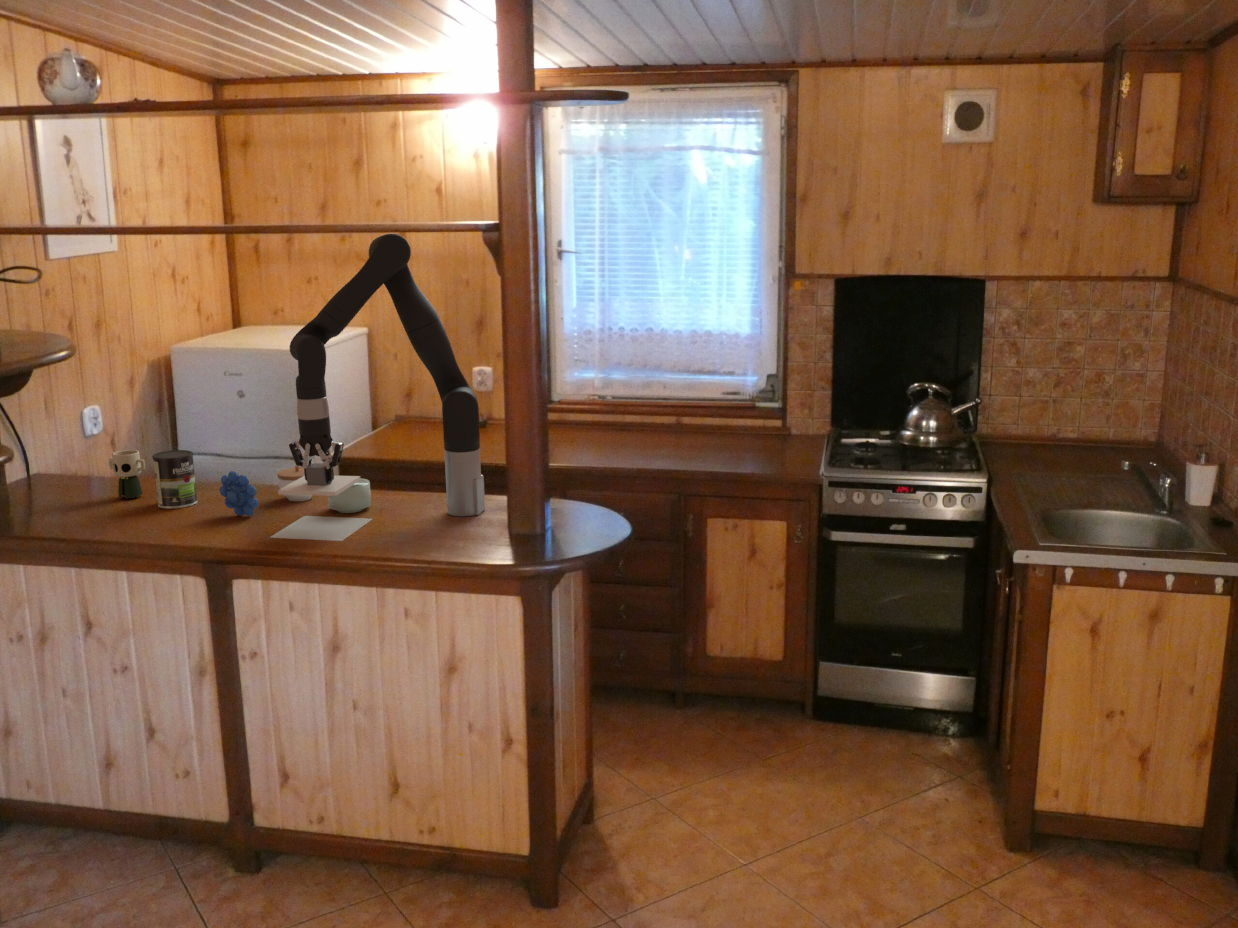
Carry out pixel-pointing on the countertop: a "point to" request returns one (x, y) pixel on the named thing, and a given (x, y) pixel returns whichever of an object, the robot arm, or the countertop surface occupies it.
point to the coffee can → (175, 479)
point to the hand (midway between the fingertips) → (319, 482)
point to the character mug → (127, 472)
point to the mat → (322, 528)
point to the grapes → (238, 493)
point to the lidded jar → (289, 477)
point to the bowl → (352, 498)
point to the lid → (318, 483)
